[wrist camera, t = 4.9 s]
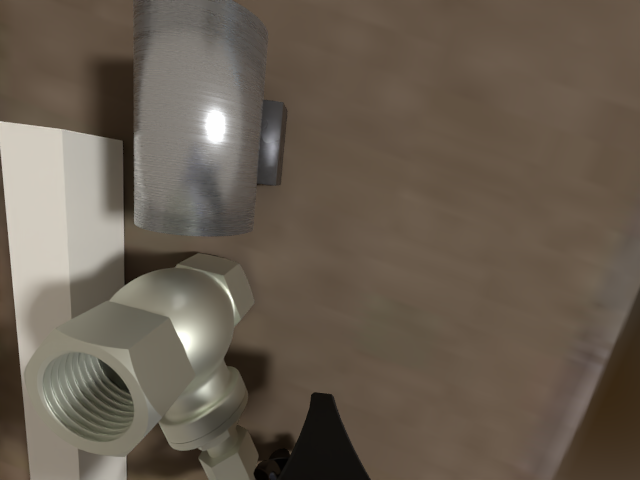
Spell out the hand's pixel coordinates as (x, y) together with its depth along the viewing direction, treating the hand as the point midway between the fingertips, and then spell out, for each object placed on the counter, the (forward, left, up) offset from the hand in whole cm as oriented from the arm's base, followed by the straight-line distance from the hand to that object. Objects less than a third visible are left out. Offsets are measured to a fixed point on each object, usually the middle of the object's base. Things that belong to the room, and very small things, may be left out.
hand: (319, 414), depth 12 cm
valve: (0, +4, -3) cm, 4 cm away
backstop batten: (-1, +10, -3) cm, 11 cm away
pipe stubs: (0, +5, -3) cm, 6 cm away
